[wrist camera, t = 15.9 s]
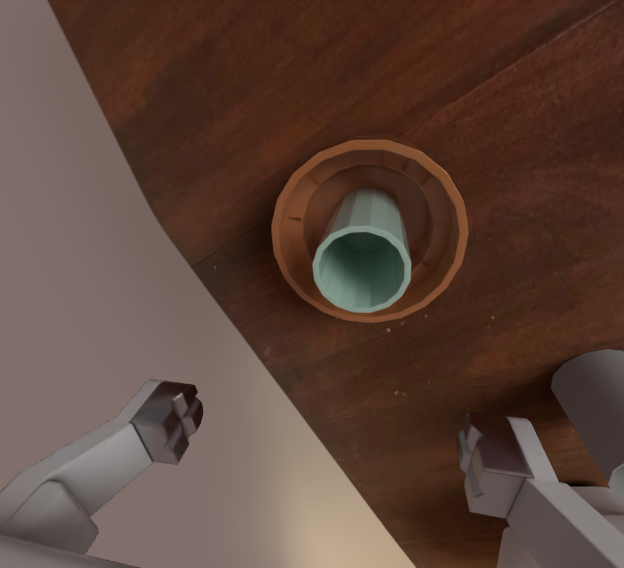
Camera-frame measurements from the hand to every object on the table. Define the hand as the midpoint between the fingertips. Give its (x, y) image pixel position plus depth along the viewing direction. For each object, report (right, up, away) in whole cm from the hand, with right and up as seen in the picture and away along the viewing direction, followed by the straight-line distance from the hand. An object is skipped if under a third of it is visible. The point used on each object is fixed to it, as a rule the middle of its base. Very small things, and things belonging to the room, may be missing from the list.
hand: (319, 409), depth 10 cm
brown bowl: (+5, +10, +19) cm, 22 cm away
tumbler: (+5, +9, +18) cm, 21 cm away
